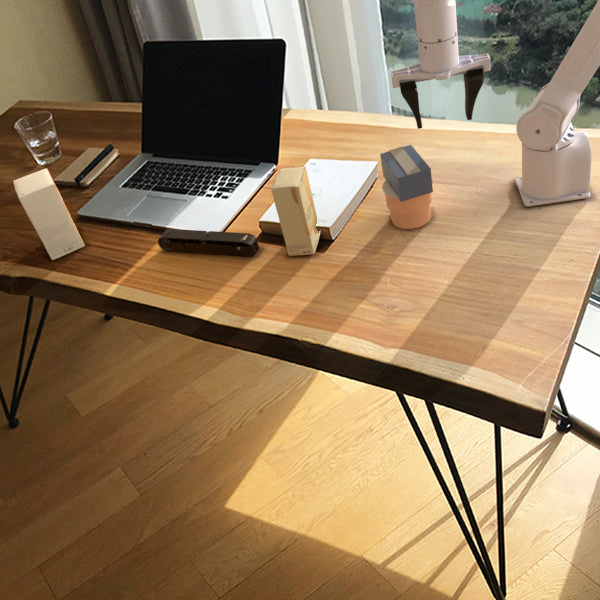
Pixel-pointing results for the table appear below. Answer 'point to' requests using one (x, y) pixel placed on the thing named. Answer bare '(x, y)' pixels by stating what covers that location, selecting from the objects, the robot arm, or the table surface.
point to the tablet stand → (209, 242)
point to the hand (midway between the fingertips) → (444, 121)
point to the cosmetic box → (296, 210)
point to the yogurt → (408, 209)
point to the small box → (48, 213)
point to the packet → (406, 172)
